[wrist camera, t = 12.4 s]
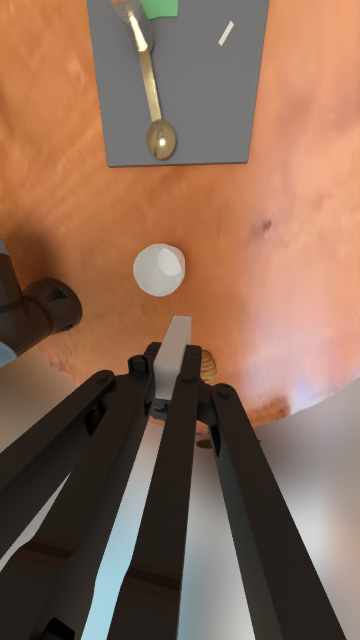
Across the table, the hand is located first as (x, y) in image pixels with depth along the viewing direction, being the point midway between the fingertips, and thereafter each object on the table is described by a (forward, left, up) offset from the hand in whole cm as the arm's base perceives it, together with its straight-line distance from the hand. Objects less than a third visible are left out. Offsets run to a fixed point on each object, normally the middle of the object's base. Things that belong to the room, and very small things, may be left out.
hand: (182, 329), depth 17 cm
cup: (-7, +1, -30) cm, 30 cm away
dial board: (-6, +28, -29) cm, 41 cm away
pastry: (+2, -28, -30) cm, 41 cm away
